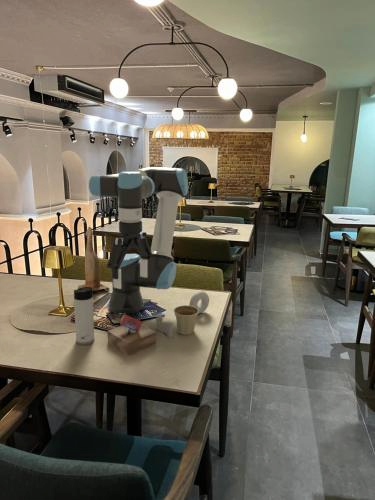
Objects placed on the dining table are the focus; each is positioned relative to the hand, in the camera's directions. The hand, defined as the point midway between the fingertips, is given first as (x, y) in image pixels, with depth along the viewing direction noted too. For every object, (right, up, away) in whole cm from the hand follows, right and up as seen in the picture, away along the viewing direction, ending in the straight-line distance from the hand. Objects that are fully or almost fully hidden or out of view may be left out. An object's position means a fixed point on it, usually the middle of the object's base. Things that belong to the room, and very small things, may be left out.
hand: (131, 282), depth 125 cm
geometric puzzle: (0, -18, +4) cm, 18 cm away
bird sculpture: (-26, -9, +53) cm, 60 cm away
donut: (+24, -16, +31) cm, 43 cm away
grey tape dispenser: (+10, -20, +14) cm, 27 cm away
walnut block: (-1, -23, +5) cm, 23 cm away
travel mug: (-17, -22, +6) cm, 28 cm away
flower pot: (+18, -20, +15) cm, 31 cm away
